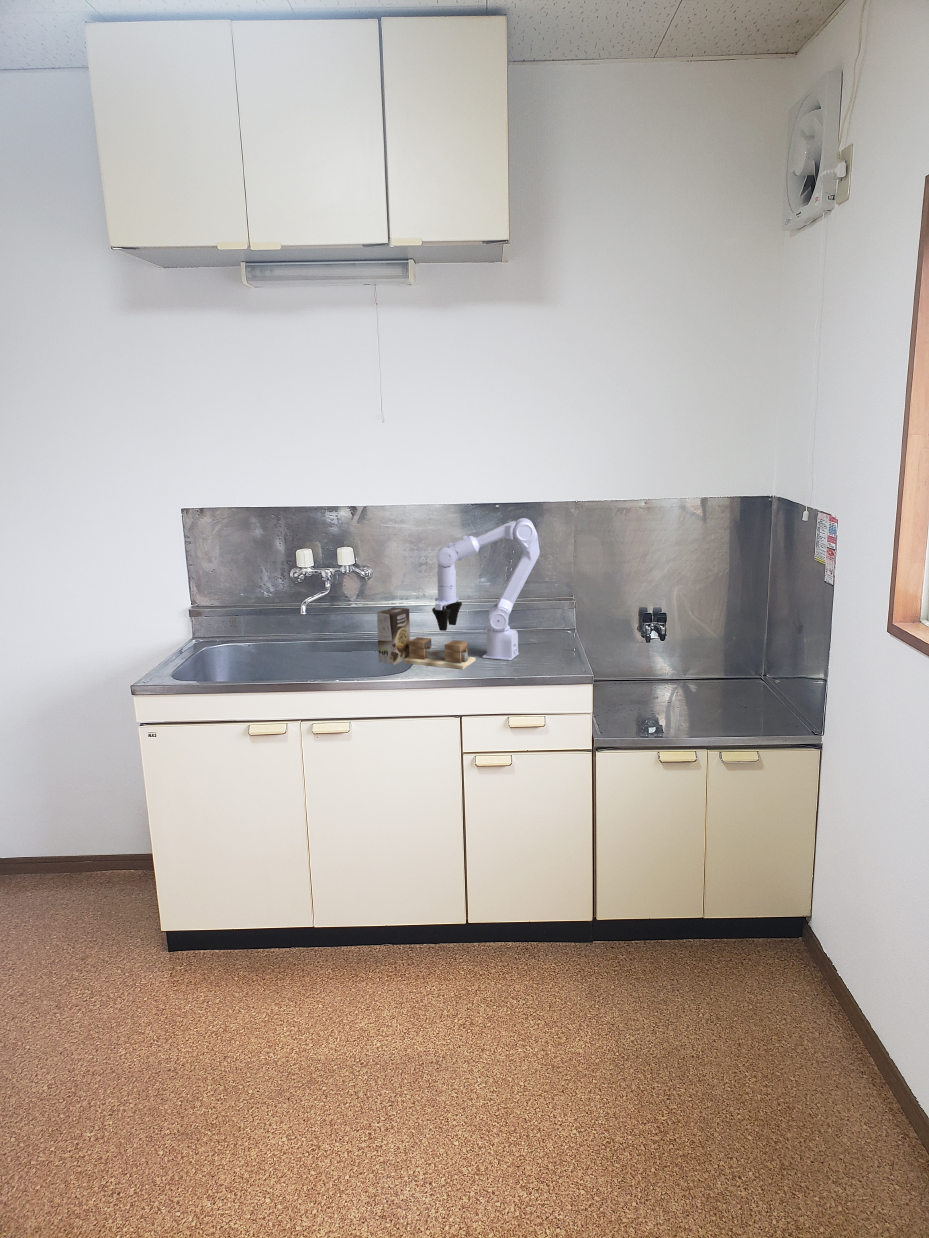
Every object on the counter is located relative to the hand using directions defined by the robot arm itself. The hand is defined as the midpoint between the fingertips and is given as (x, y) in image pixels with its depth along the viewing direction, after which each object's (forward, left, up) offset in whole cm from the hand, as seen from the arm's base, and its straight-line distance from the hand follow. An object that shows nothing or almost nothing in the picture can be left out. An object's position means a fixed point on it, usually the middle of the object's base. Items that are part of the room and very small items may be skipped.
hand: (447, 627), depth 278 cm
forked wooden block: (-6, +6, -9) cm, 12 cm away
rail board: (0, +6, -10) cm, 11 cm away
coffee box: (+14, +9, -10) cm, 20 cm away
